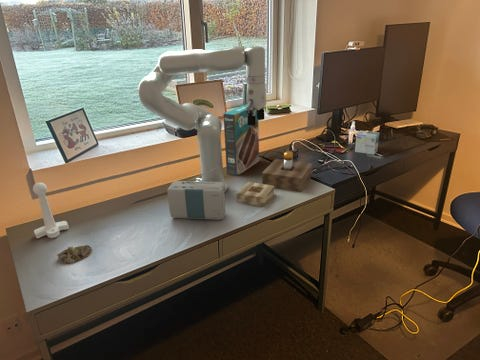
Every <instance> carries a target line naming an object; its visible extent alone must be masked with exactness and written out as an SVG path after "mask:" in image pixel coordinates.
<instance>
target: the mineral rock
mask: <svg viewBox="0 0 480 360" xmlns="http://www.w3.org/2000/svg"><path fill="white" fill-rule="evenodd" d="M92 251H93V248H92V247H91V246H90V245H89V244H86V245H80V246H79V245H78V246H77V247H74V246H67V248H66V249H63V251H61V252H59V253H56V256H57V259H58V261H59V262H60V263H61V264H64V265H65V264H69V265H73V264H74V263H76V262H79V261H81V260H83V259H85V258H87V257H88V256H89V255H90V254H91V253H92Z"/></svg>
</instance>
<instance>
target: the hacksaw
mask: <svg viewBox="0 0 480 360" xmlns="http://www.w3.org/2000/svg"><path fill="white" fill-rule="evenodd" d="M336 159H337V160H334V157H331V161H329V162H328V163H324V164H320V165H316V166H312V174H318V173H321V172H325V170H330V169H333V168H338V167H341V166H344V165H347V164H346V163H343V162H340V161H339V158H338V157H336ZM333 163H337V164H339V165H334V166H331V167H327V168H323V167H325V166H328V165H331V164H333ZM321 167H322V168H321ZM313 169H314V170H313Z"/></svg>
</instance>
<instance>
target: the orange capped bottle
mask: <svg viewBox="0 0 480 360" xmlns="http://www.w3.org/2000/svg"><path fill="white" fill-rule="evenodd" d="M293 154H294V152H293V151H292V150H286V151H284V152H283V160H284V163H283V170H288V171H292V161H294V160H293V158H294V157H293V156H294V155H293Z"/></svg>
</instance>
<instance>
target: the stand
mask: <svg viewBox="0 0 480 360" xmlns="http://www.w3.org/2000/svg"><path fill="white" fill-rule="evenodd" d="M273 196H275V188H274V186H272V185H266V184H262V183H258V182H252V181H247V183H246V184H245V185H244V186H243V187H242V188H240V190H239V191H237V193H236V201H237V203H241V204H247V205H254V206H258V207H265V206H266V205H268V202H269V201H271V199H272V198H273Z"/></svg>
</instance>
